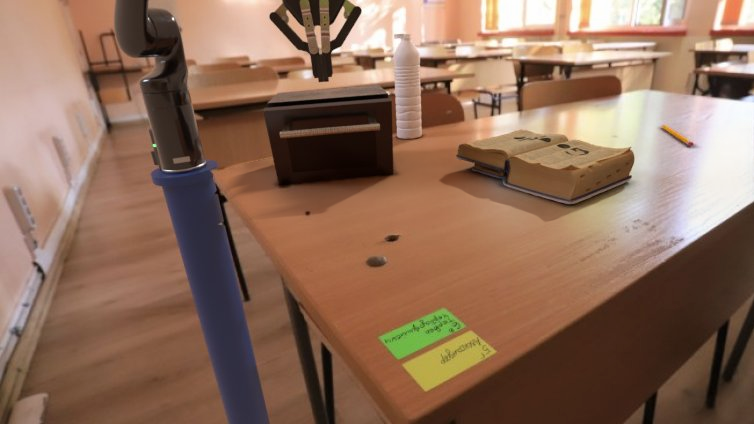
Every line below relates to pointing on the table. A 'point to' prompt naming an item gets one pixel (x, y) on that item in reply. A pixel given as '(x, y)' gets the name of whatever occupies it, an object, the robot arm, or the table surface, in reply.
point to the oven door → (331, 140)
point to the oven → (327, 96)
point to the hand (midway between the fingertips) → (323, 81)
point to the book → (550, 164)
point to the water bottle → (407, 88)
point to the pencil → (677, 135)
